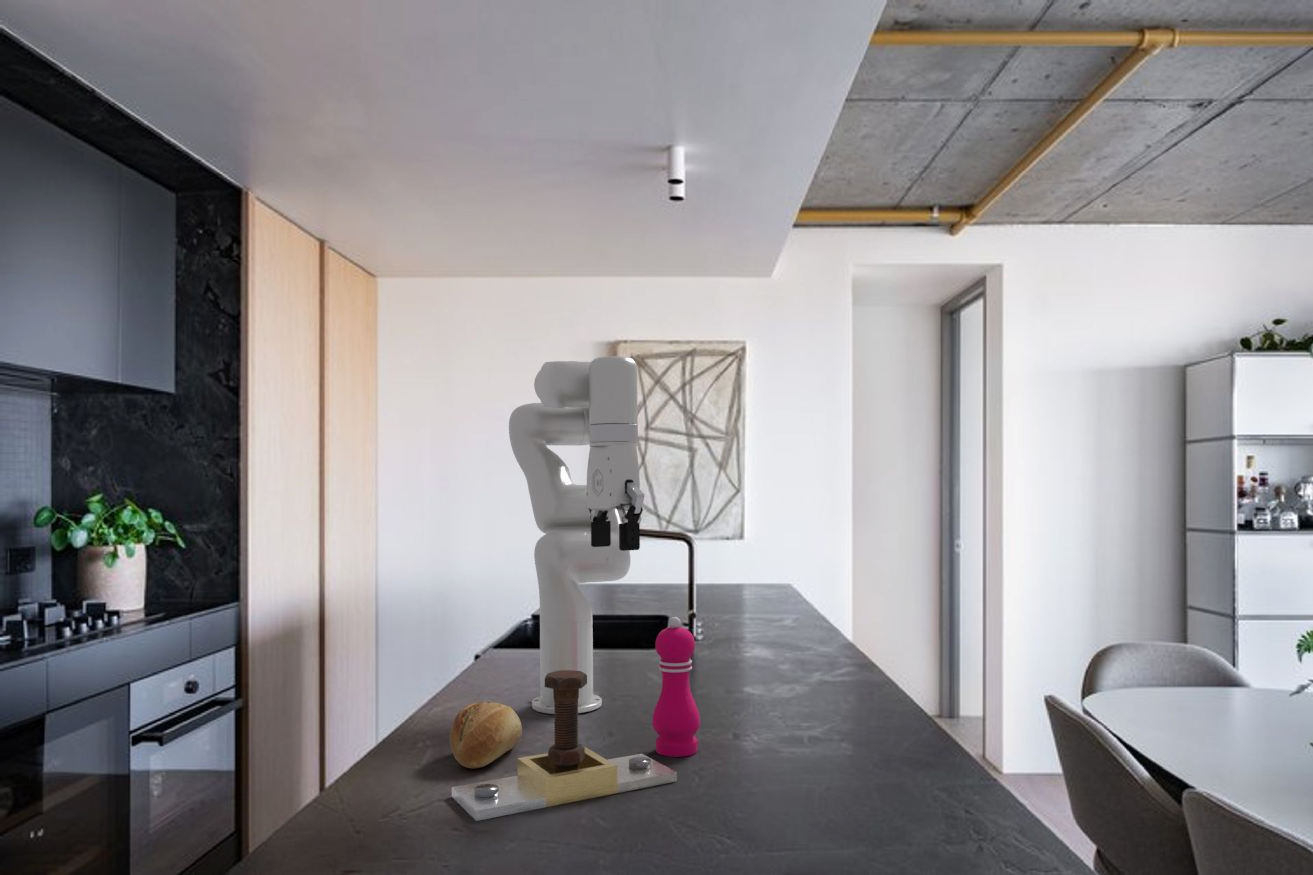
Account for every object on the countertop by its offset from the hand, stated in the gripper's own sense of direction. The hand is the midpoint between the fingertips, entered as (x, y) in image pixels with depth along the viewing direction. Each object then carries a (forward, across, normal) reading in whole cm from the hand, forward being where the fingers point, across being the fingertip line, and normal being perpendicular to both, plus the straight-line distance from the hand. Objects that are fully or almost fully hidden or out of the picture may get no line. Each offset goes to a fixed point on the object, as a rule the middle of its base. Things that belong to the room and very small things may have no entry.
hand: (614, 548), depth 141 cm
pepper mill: (+31, +6, +7) cm, 32 cm away
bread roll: (+31, -6, -19) cm, 36 cm away
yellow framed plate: (+30, +13, -14) cm, 36 cm away
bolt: (+31, +13, -14) cm, 36 cm away
